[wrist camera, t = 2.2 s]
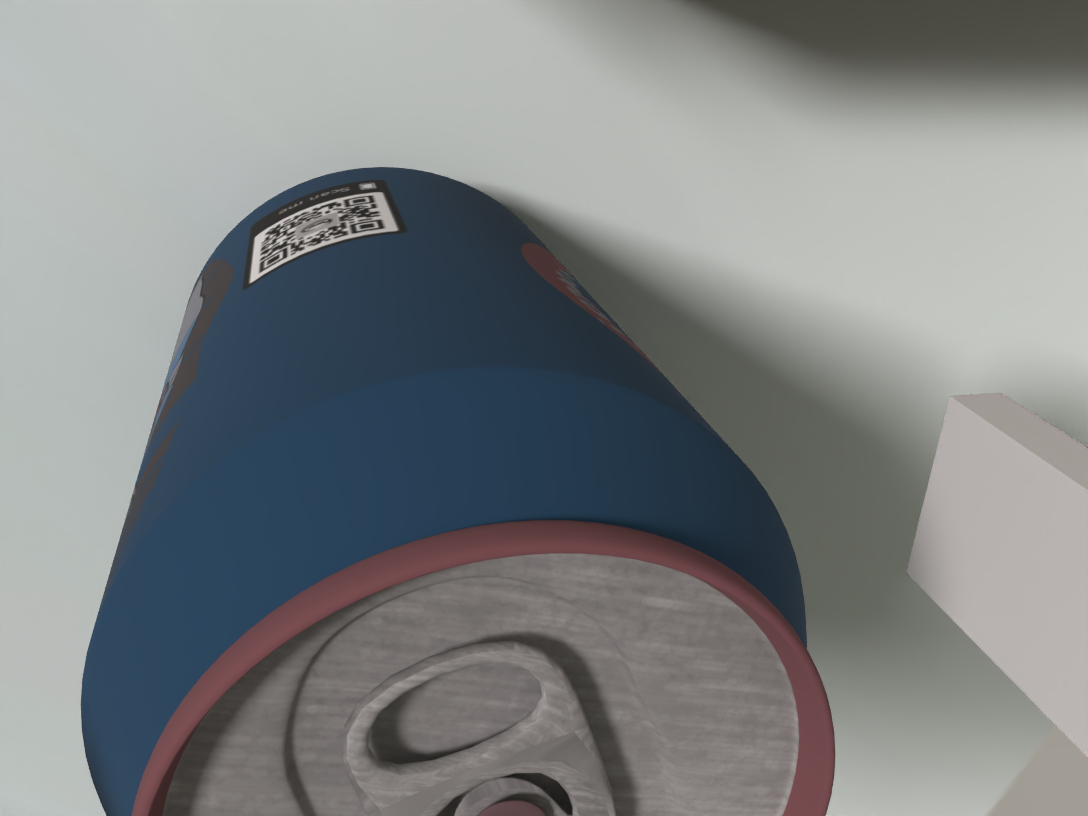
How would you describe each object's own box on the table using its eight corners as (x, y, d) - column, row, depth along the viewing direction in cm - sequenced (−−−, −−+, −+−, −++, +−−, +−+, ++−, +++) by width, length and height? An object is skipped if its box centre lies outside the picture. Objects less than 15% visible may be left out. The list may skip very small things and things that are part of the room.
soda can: (594, 428, 20) (935, 938, 10) (277, 546, 20) (266, 1232, 9) (499, 100, 17) (851, 319, 6) (117, 228, 16) (-196, 706, 6)
